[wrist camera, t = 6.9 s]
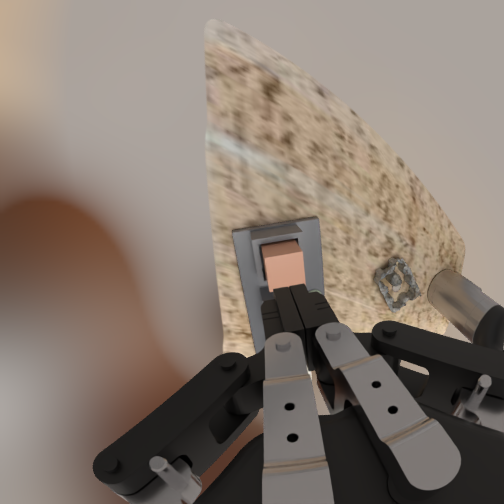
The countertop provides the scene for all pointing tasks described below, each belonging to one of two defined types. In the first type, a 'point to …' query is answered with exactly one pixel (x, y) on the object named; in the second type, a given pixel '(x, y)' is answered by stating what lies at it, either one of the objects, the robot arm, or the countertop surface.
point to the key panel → (253, 265)
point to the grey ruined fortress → (397, 283)
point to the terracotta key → (283, 264)
